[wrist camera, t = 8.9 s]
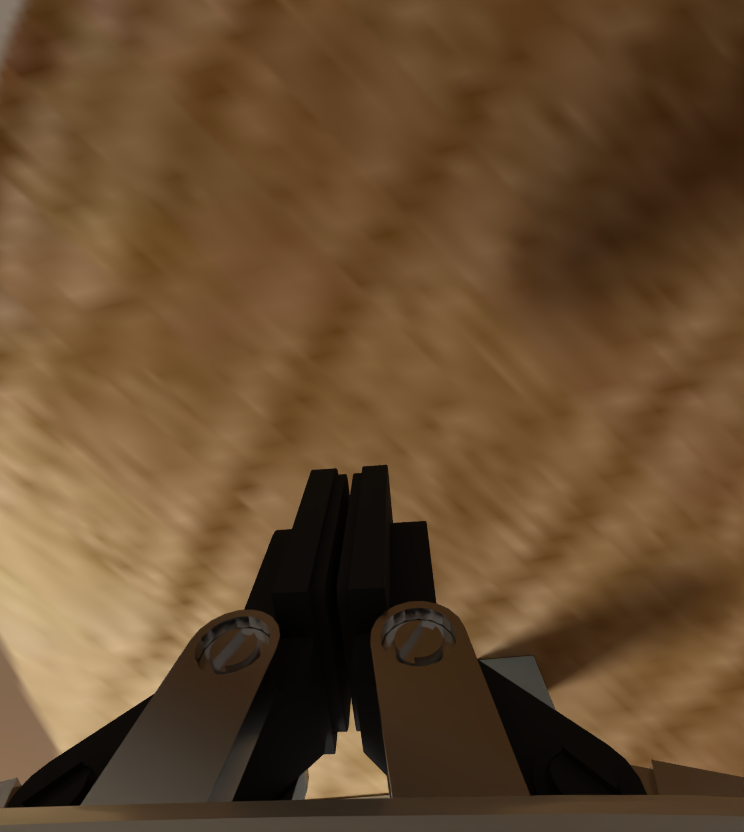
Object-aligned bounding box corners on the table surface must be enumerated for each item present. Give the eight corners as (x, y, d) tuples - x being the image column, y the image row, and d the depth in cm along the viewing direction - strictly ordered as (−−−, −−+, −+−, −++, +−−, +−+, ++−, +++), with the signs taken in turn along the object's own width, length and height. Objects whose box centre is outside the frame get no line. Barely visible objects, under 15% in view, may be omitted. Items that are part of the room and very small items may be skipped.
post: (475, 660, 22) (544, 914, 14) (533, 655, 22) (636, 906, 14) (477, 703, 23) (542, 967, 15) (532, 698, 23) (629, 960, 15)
